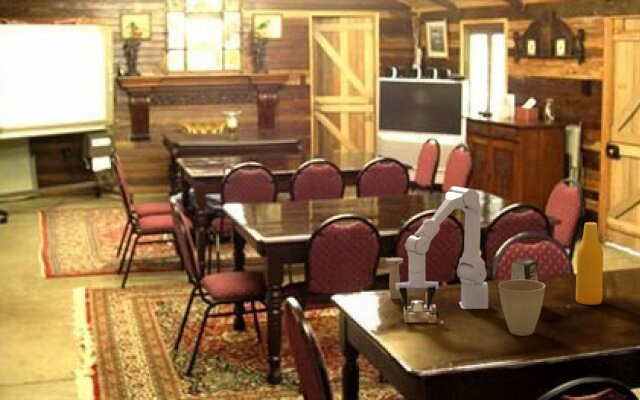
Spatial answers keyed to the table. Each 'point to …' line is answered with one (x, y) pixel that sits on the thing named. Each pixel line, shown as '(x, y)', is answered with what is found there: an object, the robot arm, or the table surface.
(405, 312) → the dock
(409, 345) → the table surface
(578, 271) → the beer bottle
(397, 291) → the handle
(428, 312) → the pin
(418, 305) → the silver metal cylinder
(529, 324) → the plant pot
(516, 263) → the coffee box
